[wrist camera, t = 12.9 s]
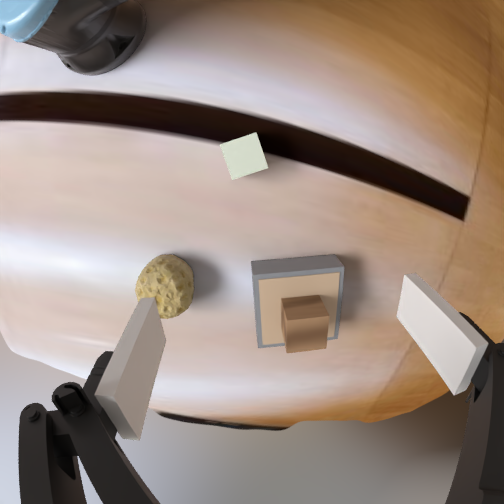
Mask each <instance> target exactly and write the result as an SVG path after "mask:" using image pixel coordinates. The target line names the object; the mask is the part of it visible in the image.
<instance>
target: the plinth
mask: <svg viewBox="0 0 504 504" xmlns="http://www.w3.org/2000/svg"><path fill="white" fill-rule="evenodd" d="M251 266H252V279H253V293H254V306H255V320H256V333H257V342H258V348H266V347H276V346H285V343H284V339H283V334H282V330H281V298H290V297H301V296H311V295H320V297H321V299H322V301H323V303H324V305H325V308H326V310H327V312H328V314H329V327H328V336H327V340H332V339H338V331H339V322H340V313H341V303H342V292H343V280H344V265H343V264H342V263H341V262H340V260H339V259H338V258H337V257H336V255H335V254H333V255H321V256H309V257H298V258H286V259H274V260H262V261H251Z"/></svg>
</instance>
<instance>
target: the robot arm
mask: <svg viewBox="0 0 504 504" xmlns="http://www.w3.org/2000/svg"><path fill="white" fill-rule="evenodd" d="M145 28H146V15H145V12H144V10H143V8H142V7H141V5H140V4H139V3H138V1H137V0H0V33H1V34H3V35H5V36H8V37H10V38H12V39H13V40H15V41H16V42H22V43H26V44H29V45H33V46H36V47H39V48H42V49H46V50H49V51H52V52H55V53H56V54H57V55H58V56H59V58H60V59H61V61H62V62H63V63H64V65H65V66H66V67H67V68H69V69H70V70H72V71H74V72H77V73H80V74H83V75H98V74H102V73H105V72H108V71H110V70H112V69H114V68H116V67H117V66H119V65H120V64H122V63H123V62H124V61H125V60H126V59H127V58H129V57H130V55H131V54H132V53H133V52H134V51H135V50H136V48H137V47H138V45H139V44H140V42H141V40H142V38H143V35H144V32H145ZM397 318H398V319H399V321H400V322H401V323H402V324H403V326H404V327H405V328H406V330H407V331H408V332H409V334H410V335H411V336H412V337H413V339H414V340H415V341H416V343H417V344H418V345H419V347H420V348H421V350H422V351H423V352H424V354H425V355H426V356H427V358H428V359H429V360H430V362H431V363H432V365H433V366H434V367H435V369H436V370H437V372H438V373H439V374H440V376H441V377H442V379H443V380H444V382H445V383H446V385H447V386H448V387H449V389H450V390H451V392H452V393H453V395H456V394H458V393H460V392H463V391H465V390H466V389H467V387H468V385H469V383H470V381H472V383H473V384H474V387H473V389H472V390H471V392H470V394H469V396H468V397H467V399H466V403H467V402H468V400H469V399H470V398H471V400H470V407H469V413H468V420H467V425H466V430H465V435H464V440H463V445H462V449H461V453H460V457H459V461H458V465H457V469H456V473H455V476H454V479H453V482H452V486H451V489H450V492H449V495H448V497H447V500H446V503H445V504H504V343H497V344H495V343H494V342H493V341H492V340H491V339H490V338H489V337H488V336H487V335H486V334H485V333H484V332H483V331H482V330H481V329H479V327H478V326H477V325H476V324H474V322H473V321H472V320H471V319H470V318H469V317H468V316H466V315H465V314H463V313H461V312H459V313H458V312H457V311H456V310H455V309H454V308H453V307H452V306H451V305H450V304H449V303H448V302H447V301H446V300H445V299H444V298H443V297H441V296H440V295H439V294H438V293H437V292H436V291H435V290H434V289H433V288H432V287H431V286H430V285H428V284H427V283H426V282H425V281H424V280H423V279H422V278H421V277H420V276H418V275H417V274H416V273H411V274H404V280H403V286H402V291H401V297H400V302H399V307H398V312H397ZM165 343H166V338H165V334H164V331H163V327H162V323H161V320H160V316H159V312H158V308H157V304H156V300H155V297H152V298H141V299H140V301H139V303H138V305H137V306H136V308H135V310H134V312H133V314H132V316H131V318H130V320H129V322H128V324H127V326H126V328H125V330H124V332H123V334H122V336H121V338H120V340H119V342H118V344H117V346H116V348H115V351H114V352H112V351H105V352H104V353H103V354H102V355H101V356H100V357H99V358H98V359H97V361H96V363H95V365H94V368H93V369H92V371H91V373H90V375H89V377H88V379H87V381H86V383H85V385H84V387H83V389H82V387H81V386H80V385H79V384H77V383H74V382H68V383H64V384H62V385H60V386H59V387H57V388H56V389H55V391H54V392H53V395H52V402H53V403H54V405H55V406H56V408H57V409H58V410H55V411H47V410H46V409H45V408H44V407H43V405H42V404H39V403H32V404H29V405H28V406H26V407H25V408H24V409H23V411H22V412H21V415H20V424H19V485H20V497H21V504H87V502H86V498H85V494H84V490H83V485H82V480H81V476H80V470H79V464H78V459H77V456H79V458H80V460H81V462H82V464H83V466H84V469H85V471H86V473H87V475H88V477H89V479H90V481H91V482H92V484H93V486H94V488H95V490H96V492H97V493H98V495H99V497H100V499H101V501H102V502H103V504H160V503H159V501H158V500H157V499H156V498H155V496H154V495H153V494H152V493H151V491H150V490H149V488H148V487H147V486H146V484H145V483H144V482H143V480H142V479H141V477H140V476H139V475H138V473H137V472H136V470H135V469H134V467H133V466H132V464H131V463H130V461H129V460H128V458H127V457H126V455H125V454H124V452H123V451H122V449H121V447H120V446H119V444H118V442H117V441H116V440H115V436H116V433H117V431H118V433H119V434H120V436H121V437H122V438H123V439H131V440H140V436H141V433H142V429H143V424H144V420H145V416H146V412H147V409H148V405H149V401H150V397H151V393H152V389H153V386H154V382H155V378H156V375H157V371H158V367H159V364H160V360H161V357H162V353H163V350H164V347H165Z"/></svg>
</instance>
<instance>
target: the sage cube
mask: <svg viewBox="0 0 504 504" xmlns="http://www.w3.org/2000/svg"><path fill="white" fill-rule="evenodd" d="M220 147H221V150H222V153H223V155H224V158H225V161H226V164H227V167H228V169H229V172H230V175H231V178H232V180H234V179H237V178H240V177H243V176H246V175H249V174H252V173H255V172H258V171H261V170H264V169H267V168H268V165H267V162H266V159H265V156H264V153H263V150H262V148H261V145H260V142H259V139H258V136H257V133H253V134H250V135H247V136H244V137H241V138H238V139H235V140H232V141H229V142H227V143H224V144H221V145H220Z"/></svg>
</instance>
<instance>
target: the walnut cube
mask: <svg viewBox="0 0 504 504" xmlns="http://www.w3.org/2000/svg"><path fill="white" fill-rule="evenodd" d="M328 327H329V314H328V312H327V310H326V308H325V305H324V303H323V301H322V299H321V297H320V295H311V296H301V297H290V298H281V330H282V334H283V339H284V343H285V348H286V352H287V353H293V352H302V351H310V350H318V349H325V348H326V346H327V336H328Z"/></svg>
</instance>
